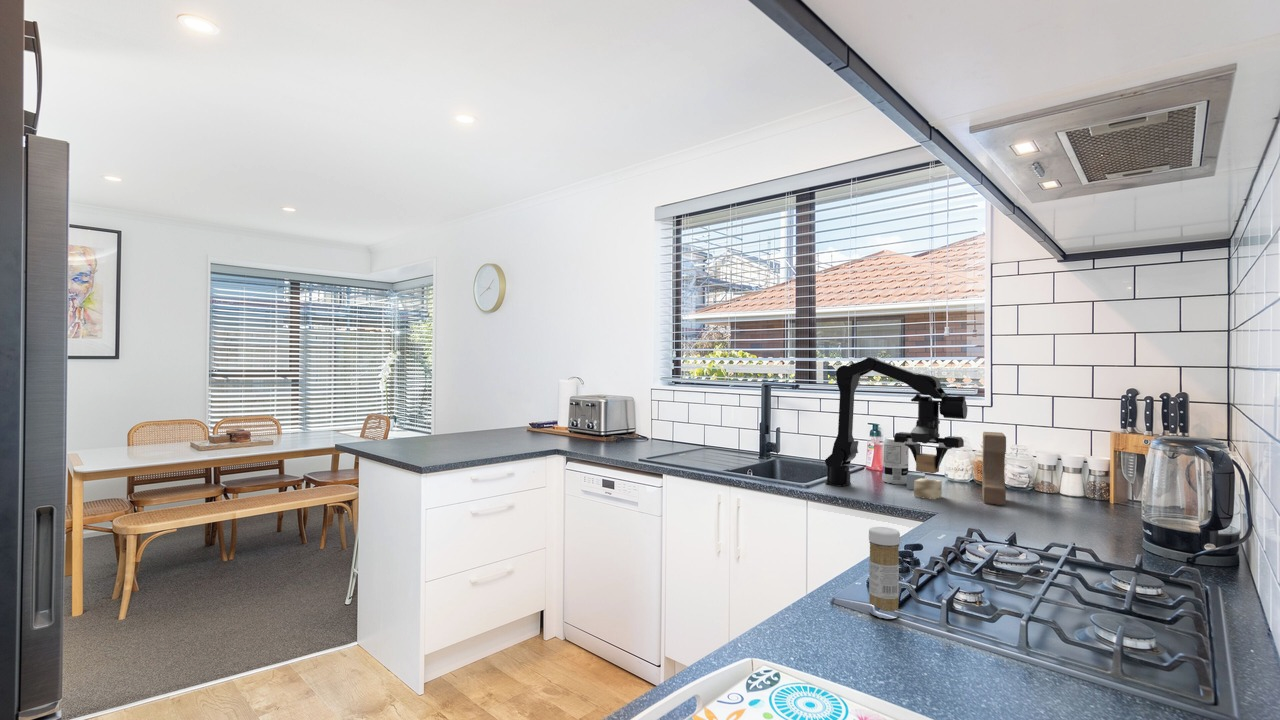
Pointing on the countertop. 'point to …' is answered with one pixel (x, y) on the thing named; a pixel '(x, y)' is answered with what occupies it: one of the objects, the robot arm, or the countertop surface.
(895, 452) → the supplement can
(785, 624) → the countertop surface
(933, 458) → the walnut cube
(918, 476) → the slate cube
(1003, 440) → the decorative block
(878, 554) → the sprinkles bottle
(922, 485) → the maple block
